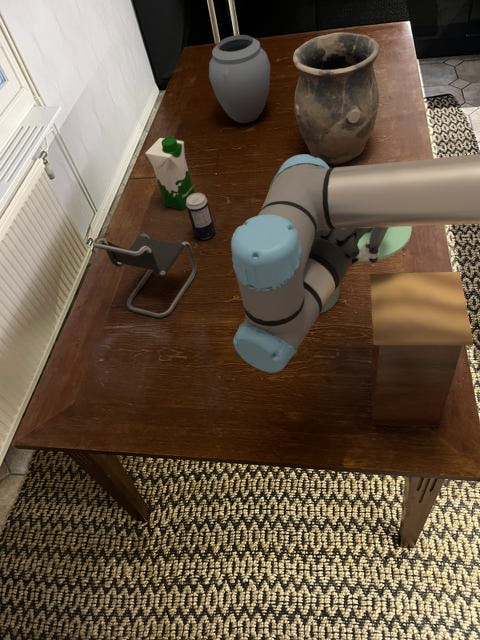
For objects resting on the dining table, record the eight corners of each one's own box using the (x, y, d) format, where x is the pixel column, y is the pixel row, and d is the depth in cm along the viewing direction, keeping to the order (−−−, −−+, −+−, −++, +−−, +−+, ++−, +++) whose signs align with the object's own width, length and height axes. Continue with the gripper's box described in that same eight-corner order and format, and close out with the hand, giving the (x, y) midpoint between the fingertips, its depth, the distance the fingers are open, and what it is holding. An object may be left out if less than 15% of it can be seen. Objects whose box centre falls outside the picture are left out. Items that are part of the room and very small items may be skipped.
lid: (414, 263, 81) (421, 213, 73) (318, 265, 84) (315, 217, 76) (407, 202, 90) (413, 152, 82) (321, 206, 93) (318, 158, 85)
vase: (209, 116, 182) (193, 43, 164) (258, 96, 186) (248, 22, 167) (233, 140, 170) (220, 65, 151) (286, 118, 174) (279, 42, 155)
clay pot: (302, 131, 167) (295, 32, 144) (377, 128, 162) (382, 25, 139) (294, 174, 154) (284, 73, 131) (375, 172, 148) (380, 67, 126)
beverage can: (219, 229, 143) (210, 193, 134) (209, 242, 140) (200, 207, 131) (200, 225, 146) (191, 190, 136) (191, 239, 143) (180, 204, 133)
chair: (121, 310, 130) (88, 244, 113) (156, 261, 139) (130, 193, 122) (166, 321, 125) (139, 254, 108) (199, 271, 134) (178, 201, 117)
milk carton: (185, 213, 150) (167, 152, 135) (159, 207, 154) (139, 147, 138) (200, 194, 155) (184, 133, 139) (175, 189, 158) (157, 128, 143)
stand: (445, 432, 97) (473, 341, 76) (367, 429, 100) (373, 341, 79) (436, 368, 106) (459, 271, 84) (365, 368, 109) (369, 273, 87)
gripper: (266, 277, 79) (335, 186, 90) (365, 311, 72) (427, 207, 83) (259, 240, 73) (334, 147, 85) (367, 272, 66) (432, 167, 78)
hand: (380, 177), depth 84 cm, fingers closed on lid, 3 cm apart
